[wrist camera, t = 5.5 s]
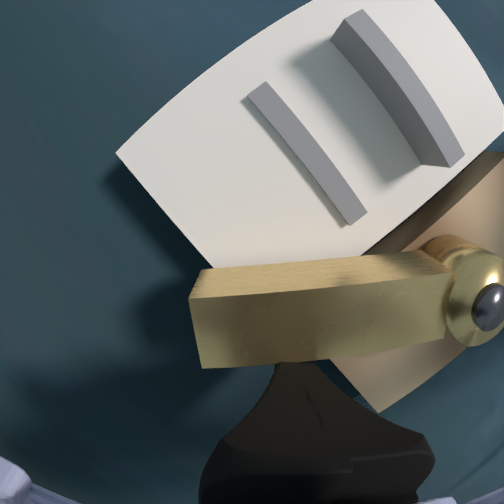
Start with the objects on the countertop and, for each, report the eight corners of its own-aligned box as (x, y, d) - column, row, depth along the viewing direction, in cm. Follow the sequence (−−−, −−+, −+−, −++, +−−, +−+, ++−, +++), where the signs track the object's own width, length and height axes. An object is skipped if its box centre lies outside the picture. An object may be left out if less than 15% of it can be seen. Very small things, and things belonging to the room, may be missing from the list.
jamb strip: (484, 151, 12) (508, 152, 10) (524, 257, 13) (544, 268, 12) (295, 305, 14) (301, 326, 12) (368, 390, 16) (378, 413, 14)
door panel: (382, -20, 10) (415, -61, 6) (486, 124, 12) (541, 122, 8) (134, 152, 12) (89, 153, 8) (264, 302, 14) (267, 354, 10)
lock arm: (476, 231, 11) (532, 257, 7) (467, 302, 12) (513, 341, 8) (201, 254, 11) (179, 297, 8) (213, 333, 12) (200, 394, 9)
